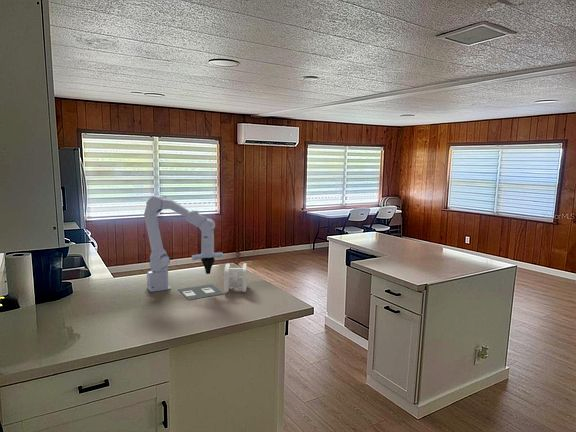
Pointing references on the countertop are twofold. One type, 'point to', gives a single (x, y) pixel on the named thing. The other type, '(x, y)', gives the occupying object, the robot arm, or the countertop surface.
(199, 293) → the label mat
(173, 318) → the countertop surface
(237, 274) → the cable organizer
